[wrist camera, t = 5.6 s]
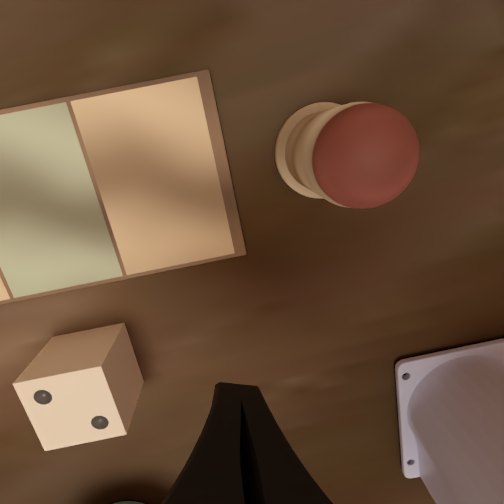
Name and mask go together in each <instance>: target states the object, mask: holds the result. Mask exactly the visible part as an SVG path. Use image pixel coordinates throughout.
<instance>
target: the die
mask: <svg viewBox="0 0 504 504" xmlns="http://www.w3.org/2000/svg"><path fill="white" fill-rule="evenodd" d="M143 383H144V380H143V377H142V374H141V371H140V368H139V365H138V362H137V359H136V356H135V353H134V350H133V347H132V344H131V341H130V338H129V335H128V332H127V329H126V326H125V323H120V324H115V325H110V326H105V327H100V328H95V329H89V330H84V331H79V332H74V333H69V334H64V335H59V336H54V337H52V338H51V339H50V341H49V342H48V343H47V344H46V345H45V346H44V348H43V349H42V350H41V351H40V352H39V353H38V355H37V356H36V357H35V358H34V359H33V360H32V362H31V363H30V364H29V365H28V366H27V367H26V369H25V370H24V371H23V372H22V373H21V374H20V376H19V377H18V378H17V379H16V380H15V382H14V383H13V386H14V388H15V390H16V392H17V394H18V396H19V398H20V400H21V402H22V404H23V406H24V409H25V411H26V413H27V415H28V417H29V419H30V421H31V423H32V425H33V427H34V429H35V431H36V434H37V436H38V438H39V440H40V442H41V444H42V446H43V448H44V450H45V451H48V450H53V449H58V448H62V447H67V446H72V445H77V444H82V443H87V442H92V441H97V440H102V439H107V438H112V437H117V436H122V435H127V432H128V429H129V426H130V423H131V420H132V416H133V413H134V410H135V407H136V404H137V401H138V398H139V395H140V392H141V389H142V386H143Z"/></svg>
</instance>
